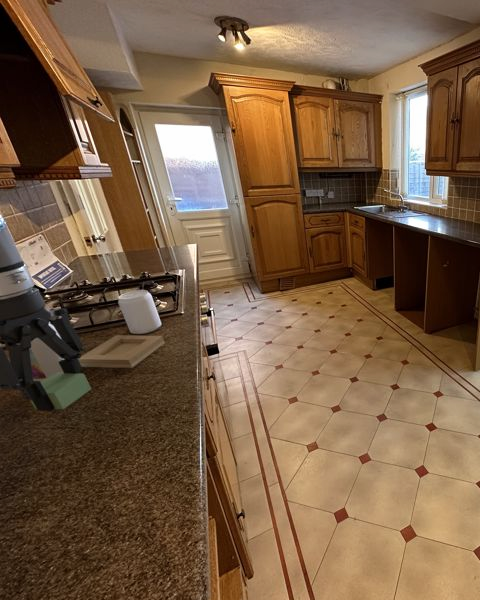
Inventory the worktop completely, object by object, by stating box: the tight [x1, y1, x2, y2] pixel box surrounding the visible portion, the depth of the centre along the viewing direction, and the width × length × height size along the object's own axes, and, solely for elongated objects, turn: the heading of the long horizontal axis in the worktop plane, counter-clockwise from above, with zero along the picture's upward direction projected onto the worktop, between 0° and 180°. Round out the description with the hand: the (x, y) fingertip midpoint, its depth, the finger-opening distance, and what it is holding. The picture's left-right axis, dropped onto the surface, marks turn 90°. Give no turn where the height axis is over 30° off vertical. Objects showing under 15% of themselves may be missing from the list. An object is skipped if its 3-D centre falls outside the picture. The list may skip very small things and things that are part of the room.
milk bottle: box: [29, 322, 64, 382], centre depth 75 cm, size 8×8×20 cm
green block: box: [29, 373, 92, 410], centre depth 65 cm, size 6×6×4 cm
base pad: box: [78, 334, 166, 369], centre depth 88 cm, size 14×12×2 cm
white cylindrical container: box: [117, 289, 162, 335], centre depth 99 cm, size 8×8×12 cm
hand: (63, 397), depth 65 cm, fingers closed on green block, 6 cm apart
